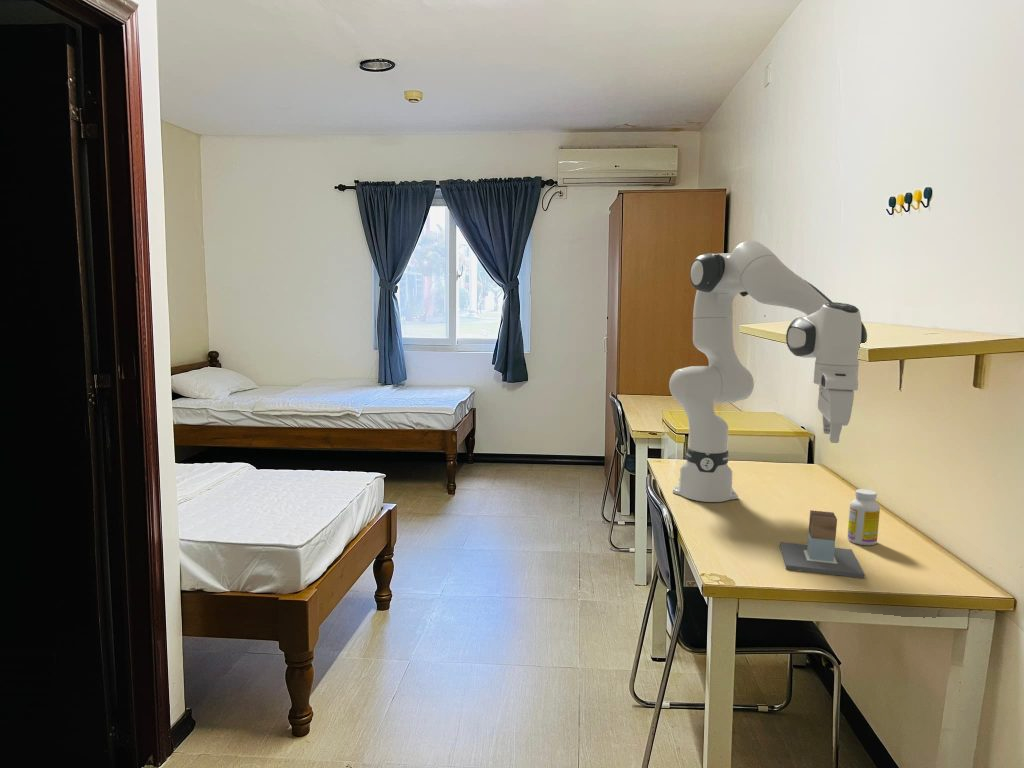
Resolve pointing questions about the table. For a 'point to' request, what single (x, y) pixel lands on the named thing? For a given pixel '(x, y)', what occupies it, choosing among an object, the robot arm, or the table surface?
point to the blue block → (820, 549)
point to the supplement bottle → (864, 518)
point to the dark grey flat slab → (841, 565)
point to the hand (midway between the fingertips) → (830, 437)
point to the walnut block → (822, 525)
